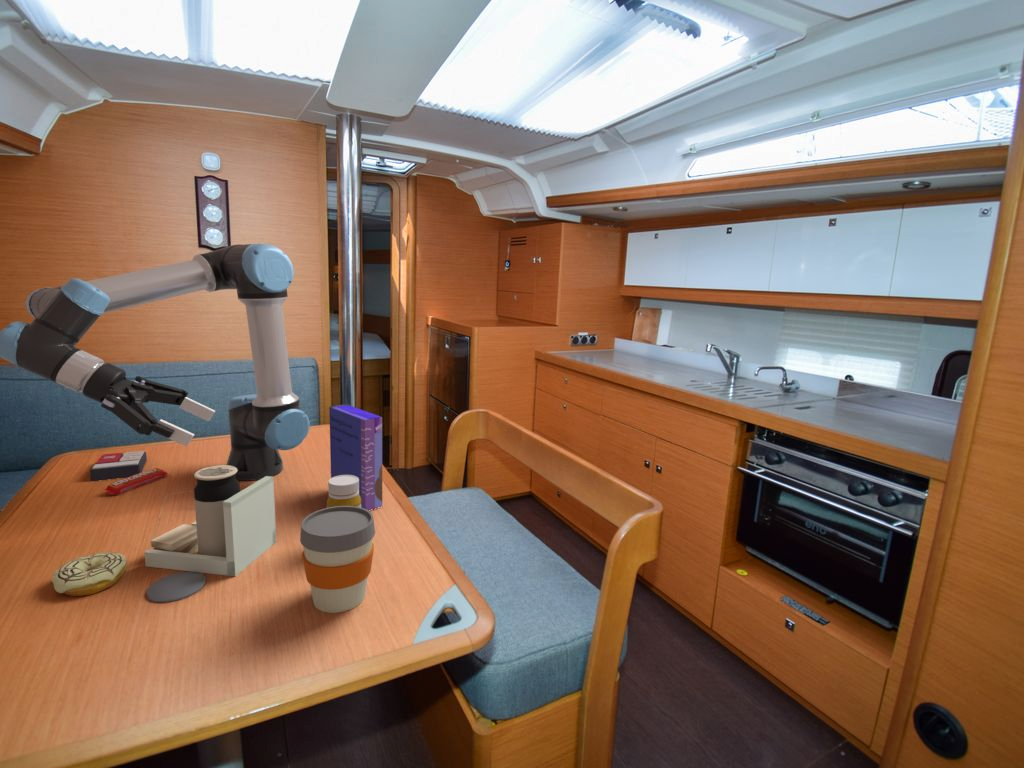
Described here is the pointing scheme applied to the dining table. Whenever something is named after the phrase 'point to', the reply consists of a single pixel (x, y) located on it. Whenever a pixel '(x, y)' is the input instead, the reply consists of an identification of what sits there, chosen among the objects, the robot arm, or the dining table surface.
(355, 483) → the bottle
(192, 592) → the coaster
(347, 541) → the reusable coffee cup
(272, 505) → the rack
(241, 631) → the dining table surface
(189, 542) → the offcut stack
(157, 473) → the candy bar
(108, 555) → the decorated donut
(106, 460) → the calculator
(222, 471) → the travel mug
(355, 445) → the purple rectangular box
